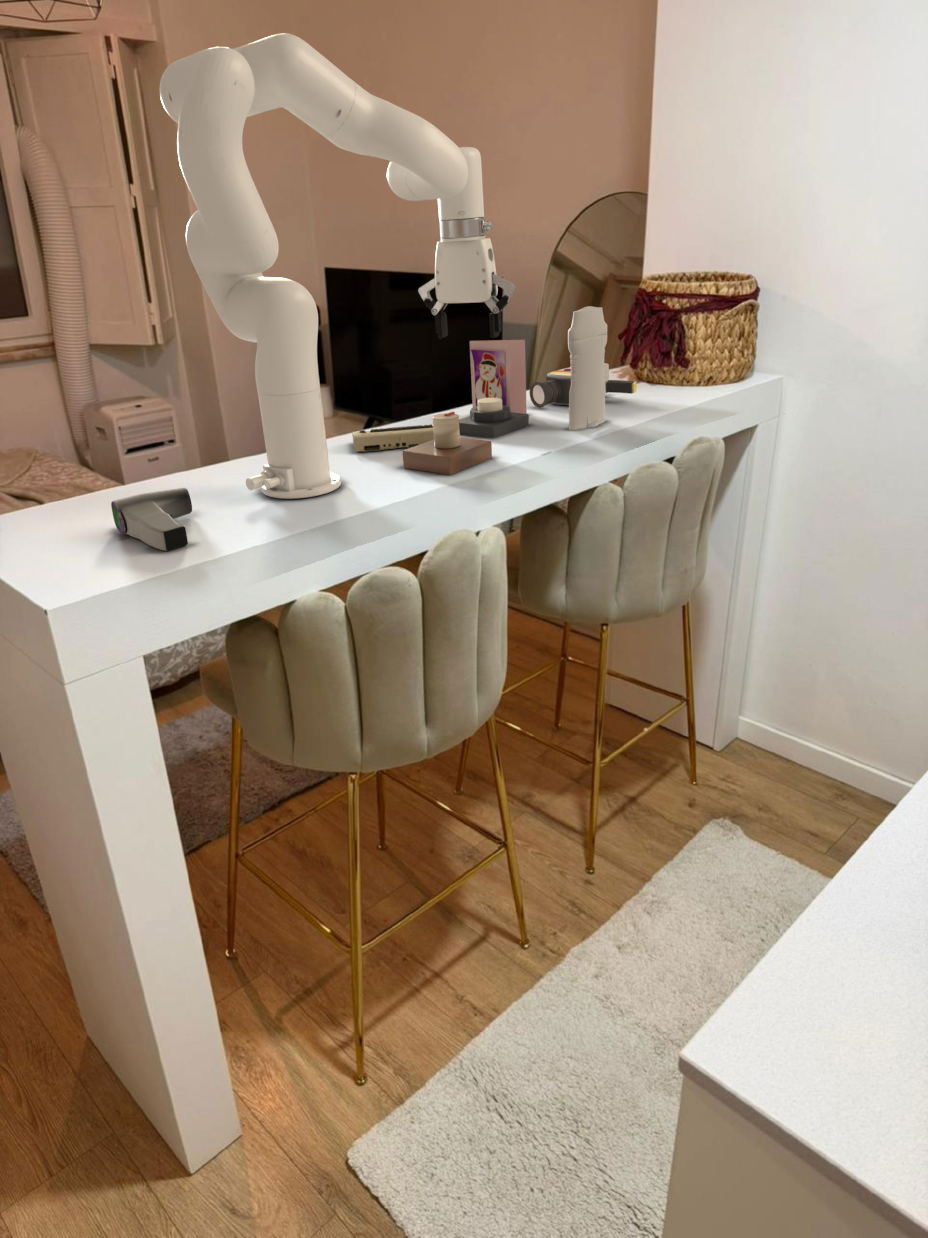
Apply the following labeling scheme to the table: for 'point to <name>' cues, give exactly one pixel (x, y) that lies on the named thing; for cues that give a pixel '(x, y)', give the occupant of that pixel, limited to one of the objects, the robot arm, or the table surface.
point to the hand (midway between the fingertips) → (468, 336)
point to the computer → (392, 437)
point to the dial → (446, 430)
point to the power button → (489, 404)
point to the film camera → (560, 384)
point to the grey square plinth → (492, 422)
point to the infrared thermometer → (154, 517)
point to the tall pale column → (587, 368)
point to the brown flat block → (447, 456)
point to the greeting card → (499, 372)
